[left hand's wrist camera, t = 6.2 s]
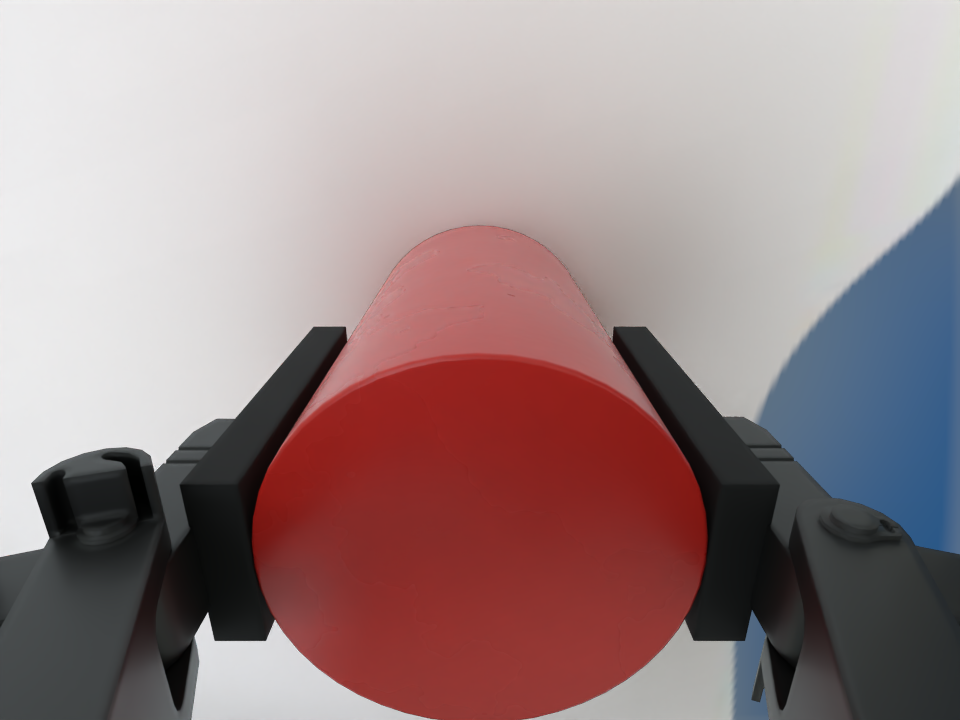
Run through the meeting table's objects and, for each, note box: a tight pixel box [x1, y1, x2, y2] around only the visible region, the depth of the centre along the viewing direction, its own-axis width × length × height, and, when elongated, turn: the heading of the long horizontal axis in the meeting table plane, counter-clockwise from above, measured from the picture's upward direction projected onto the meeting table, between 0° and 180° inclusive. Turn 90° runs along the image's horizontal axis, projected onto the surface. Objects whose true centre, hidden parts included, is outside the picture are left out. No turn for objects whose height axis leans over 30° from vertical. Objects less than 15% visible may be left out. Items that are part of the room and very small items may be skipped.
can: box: [252, 226, 708, 720], centre depth 13 cm, size 6×6×10 cm
